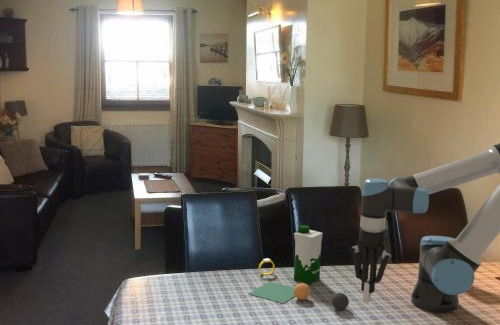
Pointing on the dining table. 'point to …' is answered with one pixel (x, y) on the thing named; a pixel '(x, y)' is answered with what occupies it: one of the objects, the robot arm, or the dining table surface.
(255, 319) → the dining table surface
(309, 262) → the milk carton
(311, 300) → the dining table surface
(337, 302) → the cue ball black
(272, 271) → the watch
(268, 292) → the green mark
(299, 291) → the ball orange
